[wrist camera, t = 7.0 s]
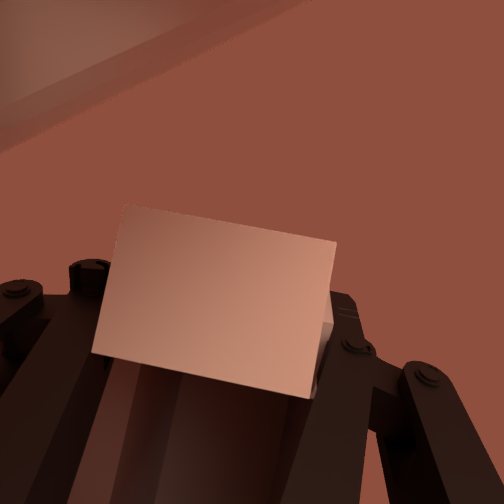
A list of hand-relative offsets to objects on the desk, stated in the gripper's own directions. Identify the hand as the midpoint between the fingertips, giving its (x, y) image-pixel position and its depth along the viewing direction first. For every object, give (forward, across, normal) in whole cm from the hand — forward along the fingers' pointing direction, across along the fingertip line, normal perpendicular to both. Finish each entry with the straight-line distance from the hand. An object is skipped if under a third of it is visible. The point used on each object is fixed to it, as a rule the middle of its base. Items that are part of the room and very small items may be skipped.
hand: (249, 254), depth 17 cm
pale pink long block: (-1, 0, -3) cm, 3 cm away
